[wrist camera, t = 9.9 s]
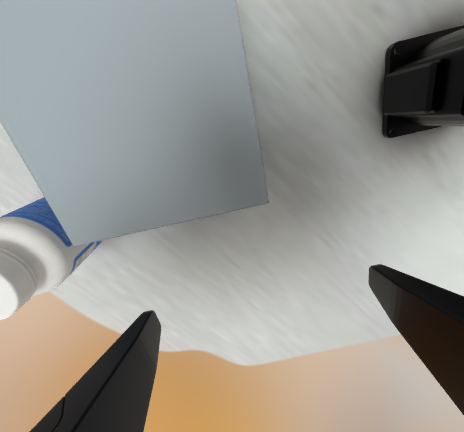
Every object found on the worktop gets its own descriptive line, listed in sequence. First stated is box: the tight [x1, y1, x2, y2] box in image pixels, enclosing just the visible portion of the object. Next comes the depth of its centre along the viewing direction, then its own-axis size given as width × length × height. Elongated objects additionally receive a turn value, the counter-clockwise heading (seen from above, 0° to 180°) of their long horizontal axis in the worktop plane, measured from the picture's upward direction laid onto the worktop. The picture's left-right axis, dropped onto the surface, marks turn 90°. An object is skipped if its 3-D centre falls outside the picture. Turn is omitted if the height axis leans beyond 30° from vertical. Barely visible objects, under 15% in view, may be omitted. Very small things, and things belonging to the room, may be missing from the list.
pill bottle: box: [0, 197, 103, 320], centre depth 16 cm, size 6×5×10 cm
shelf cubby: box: [0, 0, 269, 246], centre depth 13 cm, size 11×12×8 cm
